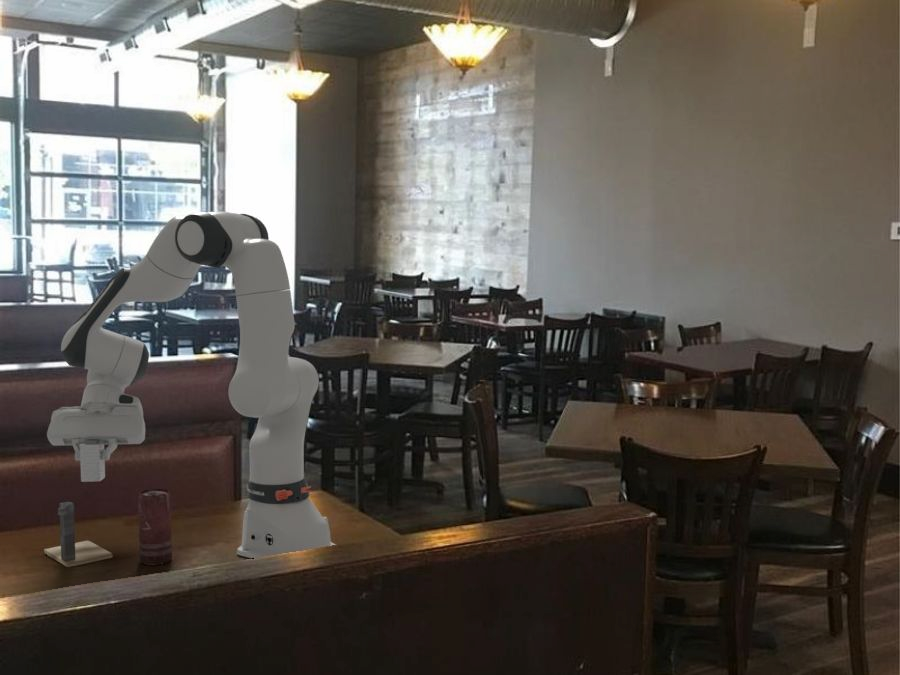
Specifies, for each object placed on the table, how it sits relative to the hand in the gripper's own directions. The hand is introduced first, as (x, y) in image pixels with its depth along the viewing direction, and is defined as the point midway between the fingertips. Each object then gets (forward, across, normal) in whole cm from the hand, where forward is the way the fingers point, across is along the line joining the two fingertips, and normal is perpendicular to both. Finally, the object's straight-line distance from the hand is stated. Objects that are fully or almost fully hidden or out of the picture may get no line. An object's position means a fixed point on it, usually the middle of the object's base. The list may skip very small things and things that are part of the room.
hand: (91, 459), depth 205 cm
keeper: (+22, 0, +1) cm, 22 cm away
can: (+25, +17, -2) cm, 30 cm away
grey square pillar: (+3, 0, +4) cm, 5 cm away
